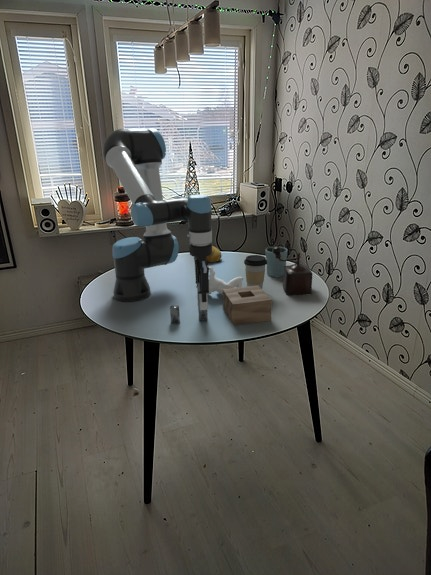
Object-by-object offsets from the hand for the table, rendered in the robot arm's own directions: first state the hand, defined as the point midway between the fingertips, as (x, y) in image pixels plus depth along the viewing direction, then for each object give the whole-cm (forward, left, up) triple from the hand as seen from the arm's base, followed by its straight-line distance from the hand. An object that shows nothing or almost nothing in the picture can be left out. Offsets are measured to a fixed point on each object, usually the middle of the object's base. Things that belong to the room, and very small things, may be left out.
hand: (202, 307), depth 134 cm
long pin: (0, 0, -5) cm, 5 cm away
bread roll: (-67, +19, -5) cm, 70 cm away
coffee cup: (-19, +26, -5) cm, 33 cm away
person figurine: (-19, +11, -5) cm, 23 cm away
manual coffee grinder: (-17, +41, -5) cm, 45 cm away
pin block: (0, +16, -5) cm, 17 cm away
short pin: (-1, -10, -5) cm, 11 cm away
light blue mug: (-37, +42, -5) cm, 57 cm away
